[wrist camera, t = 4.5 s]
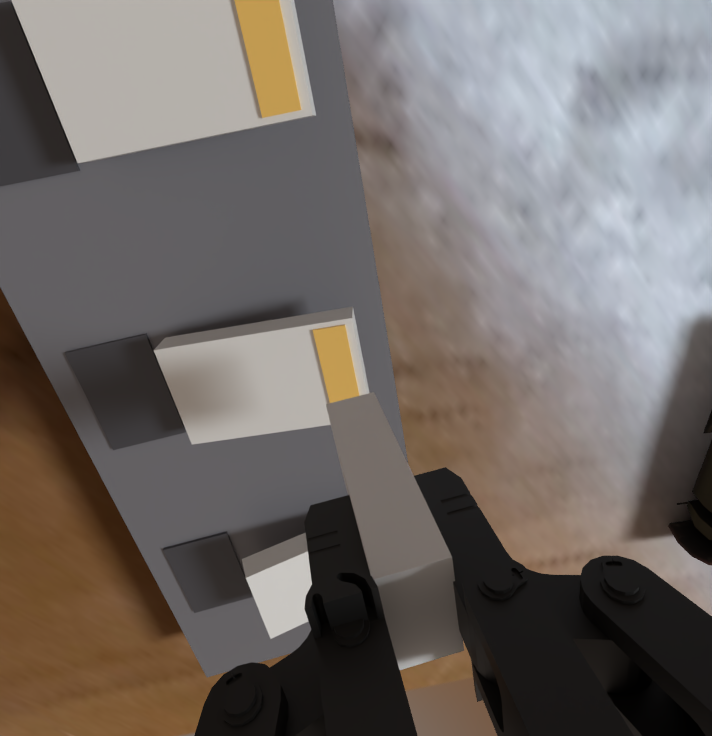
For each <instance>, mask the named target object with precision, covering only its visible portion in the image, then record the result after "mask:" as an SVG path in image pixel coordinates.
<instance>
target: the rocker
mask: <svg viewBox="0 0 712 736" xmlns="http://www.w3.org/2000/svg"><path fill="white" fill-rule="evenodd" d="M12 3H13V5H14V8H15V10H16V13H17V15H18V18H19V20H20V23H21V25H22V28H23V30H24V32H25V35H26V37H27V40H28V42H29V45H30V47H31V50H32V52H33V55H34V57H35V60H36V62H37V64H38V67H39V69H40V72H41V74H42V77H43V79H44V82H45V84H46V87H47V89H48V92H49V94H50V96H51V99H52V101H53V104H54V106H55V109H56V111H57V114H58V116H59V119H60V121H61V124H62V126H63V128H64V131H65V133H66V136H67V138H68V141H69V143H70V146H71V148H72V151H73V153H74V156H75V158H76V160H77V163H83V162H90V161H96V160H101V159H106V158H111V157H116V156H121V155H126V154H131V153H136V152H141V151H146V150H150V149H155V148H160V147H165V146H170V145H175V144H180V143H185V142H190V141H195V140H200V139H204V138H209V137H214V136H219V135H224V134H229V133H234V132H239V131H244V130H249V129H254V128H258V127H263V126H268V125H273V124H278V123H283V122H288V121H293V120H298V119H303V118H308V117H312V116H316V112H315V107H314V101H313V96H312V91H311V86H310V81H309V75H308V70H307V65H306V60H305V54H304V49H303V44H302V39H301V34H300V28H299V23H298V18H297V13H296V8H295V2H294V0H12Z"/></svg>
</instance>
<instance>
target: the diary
mask: <svg viewBox="0 0 712 736" xmlns="http://www.w3.org/2000/svg"><path fill="white" fill-rule="evenodd" d="M704 433H712V411H711V414H710V416H709V419H708V422H707V425H706V427H705V430H704ZM692 492H693V494H694V495H695V496H696V497H697V499H698V500H692V501H688V502H684V503H677V505H680V504H687V508H688V510H689V513H690V515H691V518H692V520H690V521H682V522H675V523H670V524H669V525H668V527H669V528H670V530H671V532H672V534H673V535H674V537H675V539H676V540H677V542H678V543H679V544H680V545H681V546H682V547H683V548H684V549H685V550H686V551H687V552H688V553H689V554H690V555H691V556H692V557H694V558H696V559H698V560H700V561H702V562H704V563H706V564H708V565H712V441H711V443H710V446H709V449H708V451H707V454H706V457H705V459H704V462H703V464H702V467H701V470H700V472H699V475H698V478H697V480H696V483H695V485H694V488H693V491H692Z"/></svg>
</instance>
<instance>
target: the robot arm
mask: <svg viewBox="0 0 712 736" xmlns="http://www.w3.org/2000/svg"><path fill="white" fill-rule="evenodd" d="M326 407H327V411H328V415H329V420H330V424H331V428H332V432H333V436H334V440H335V444H336V449H337V453H338V457H339V461H340V465H341V469H342V473H343V477H344V481H345V485H346V489H347V493H348V495H347V496H343V497H339V498H336V499H332V500H328V501H325V502H321V503H317V504H314V505H310V508H309V511H308V513H307V516H306V519H305V521H304V525H305V533H306V540H307V549H308V555H309V556H308V557H309V565H310V573H311V581H312V585H311V587H310V589H309V591H308V593H307V595H306V599H305V608H304V609H305V612H306V615H307V618H308V621H309V624H310V627H311V631H310V633H309V635H308V637H307V638H306V639H305V641H304V642H303V643H302V644H301V645H300V647H299V648H297V649H296V650H295V651H294V652H292V653H291V654H290V655H288V656H287V657H285V658H284V659H282V660H281V661H279V662H278V663H276V664H275V665H273V666H272V667H270V668H269V667H268V666H267V665H265V664H260V663H254V662H250V663H247V664H243V665H239V666H236V667H235V668H233V669H232V670H230V671H229V672H227V673H225V674H224V675H223V676H222V677H221V678H220V679H219V680H218V682H217V683H216V684H215V685H214V686H213V687H212V689H211V691H210V693H209V695H208V697H207V699H206V701H205V703H204V706H203V710H202V713H201V716H200V719H199V723H198V726H197V729H196V732H195V736H417V732H416V729H415V725H414V722H413V718H412V714H411V710H410V707H409V703H408V700H407V696H406V692H405V689H404V685H403V681H402V678H401V674H400V670H402V669H405V668H409V667H412V666H415V665H418V664H422V663H425V662H428V661H431V660H435V659H438V658H441V657H444V656H448V655H451V654H454V653H458V652H461V651H464V647H463V640H464V643H465V645H466V648H467V650H468V652H469V655H470V657H471V661H472V670H473V678H474V686H475V692H476V697H477V702H478V701H481V700H483V701H484V703H485V706H486V708H487V711H488V713H489V716H490V718H491V720H492V723H493V725H494V728H495V730H496V733H497V735H498V736H712V616H710V615H709V614H708V613H706V612H705V611H704V610H702V609H701V608H700V607H698V606H697V605H696V604H694V603H693V602H692V601H690V600H689V599H688V598H687V597H685V596H684V595H683V594H681V593H680V592H679V591H677V590H676V589H675V588H673V587H672V586H671V585H669V584H668V583H667V582H665V581H664V580H663V579H661V578H660V577H659V576H657V575H656V574H655V573H654V572H652V571H651V570H650V569H648V568H646V567H645V566H643V565H641V564H639V563H638V562H636V561H634V560H631V559H627V558H624V557H620V556H601V557H598V558H595V559H592V560H590V561H589V562H588V563H587V564H586V565H585V566H584V567H583V569H582V573H581V575H549V574H541V573H537V572H534V571H531V570H528V569H526V568H525V567H524V566H523V565H522V564H520V563H518V562H516V561H514V560H513V559H512V558H511V557H510V556H509V554H508V553H507V552H506V550H505V549H504V547H503V546H502V544H501V542H500V541H499V539H498V537H497V536H496V534H495V533H494V531H493V529H492V528H491V526H490V524H489V523H488V521H487V519H486V518H485V516H484V515H483V513H482V511H481V510H480V508H479V507H478V506H477V503H476V502H475V500H474V498H473V497H472V495H470V492H469V490H468V489H467V487H466V485H465V484H464V482H463V480H462V479H461V478H460V477H459V476H457V475H456V474H454V473H453V472H452V471H450V470H449V469H447V468H446V467H445V468H442V469H438V470H434V471H431V472H427V473H423V474H419V475H416V476H413V473H412V471H411V469H410V467H409V465H408V463H407V461H406V459H405V457H404V455H403V452H402V450H401V448H400V446H399V444H398V442H397V440H396V438H395V436H394V433H393V431H392V429H391V427H390V425H389V423H388V421H387V419H386V417H385V414H384V412H383V410H382V408H381V406H380V404H379V402H378V400H377V398H376V395H375V393H374V392H372V393H369V394H365V395H361V396H357V397H353V398H349V399H345V400H341V401H337V402H333V403H329V404H326ZM462 638H463V639H462ZM482 698H483V699H482Z"/></svg>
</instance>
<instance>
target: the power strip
mask: <svg viewBox="0 0 712 736" xmlns="http://www.w3.org/2000/svg"><path fill="white" fill-rule="evenodd" d="M294 2H295V8H296V13H297V18H298V23H299V28H300V34H301V39H302V44H303V49H304V54H305V60H306V65H307V70H308V75H309V81H310V86H311V91H312V96H313V101H314V107H315V112H316V116H312V117H308V118H303V119H298V120H293V121H288V122H283V123H278V124H273V125H268V126H263V127H258V128H254V129H249V130H244V131H239V132H234V133H229V134H224V135H219V136H214V137H209V138H204V139H200V140H195V141H190V142H185V143H180V144H175V145H170V146H165V147H160V148H155V149H150V150H146V151H141V152H136V153H131V154H126V155H121V156H116V157H111V158H106V159H101V160H96V161H90V162H83V163H77V160H76V158H75V156H74V153H73V151H72V148H71V146H70V143H69V141H68V138H67V136H66V133H65V131H64V128H63V126H62V124H61V121H60V119H59V116H58V114H57V111H56V109H55V106H54V104H53V101H52V99H51V96H50V94H49V92H48V89H47V87H46V84H45V82H44V79H43V77H42V74H41V72H40V69H39V67H38V64H37V62H36V60H35V57H34V55H33V52H32V50H31V47H30V45H29V42H28V40H27V37H26V35H25V32H24V30H23V28H22V25H21V23H20V20H19V18H18V15H17V13H16V10H15V8H14V5H13V3H12V0H0V288H1V290H2V291H3V293H4V295H5V297H6V299H7V301H8V303H9V305H10V307H11V308H12V310H13V312H14V314H15V316H16V318H17V320H18V322H19V323H20V325H21V327H22V329H23V331H24V333H25V335H26V337H27V339H28V340H29V342H30V344H31V346H32V348H33V350H34V352H35V354H36V356H37V357H38V359H39V361H40V363H41V365H42V367H43V369H44V371H45V373H46V374H47V376H48V378H49V380H50V382H51V384H52V386H53V388H54V390H55V391H56V393H57V395H58V397H59V399H60V401H61V403H62V405H63V407H64V408H65V410H66V412H67V414H68V416H69V418H70V420H71V422H72V424H73V425H74V427H75V429H76V431H77V433H78V435H79V437H80V439H81V441H82V442H83V444H84V446H85V448H86V450H87V452H88V454H89V456H90V458H91V459H92V461H93V463H94V465H95V467H96V469H97V471H98V473H99V474H100V476H101V478H102V480H103V482H104V484H105V486H106V488H107V490H108V491H109V493H110V495H111V497H112V499H113V501H114V503H115V505H116V507H117V508H118V510H119V512H120V514H121V516H122V518H123V520H124V522H125V524H126V525H127V527H128V529H129V531H130V533H131V535H132V537H133V539H134V541H135V542H136V544H137V546H138V548H139V550H140V552H141V554H142V556H143V558H144V559H145V561H146V563H147V565H148V567H149V569H150V571H151V573H152V575H153V576H154V578H155V580H156V582H157V584H158V586H159V588H160V590H161V592H162V593H163V595H164V597H165V599H166V601H167V603H168V605H169V607H170V609H171V610H172V612H173V614H174V616H175V618H176V620H177V622H178V624H179V625H180V627H181V629H182V631H183V633H184V635H185V637H186V639H187V641H188V642H189V644H190V646H191V648H192V650H193V652H194V654H195V656H196V658H197V659H198V661H199V663H200V665H201V667H202V669H203V671H204V673H205V675H206V676H207V677H210V676H213V675H217V674H220V673H224V672H227V671H230V670H232V669H233V668H235V667H236V666H239V665H243V664H247V663H250V662H254V663H258V662H262V661H265V660H269V659H272V658H276V657H279V656H283V655H286V654H290V653H292V652H294V651H295V650H296V649H297V648H299V647H300V645H301V644H302V643H303V642H304V641H305V639H306V638H307V637H308V635H309V633H310V631H311V627H310V624H309V621H308V622H306V623H304V624H302V625H300V626H297V627H295V628H293V629H291V630H289V631H287V632H285V633H282V634H280V635H278V636H276V637H274V638H272V639H270V636H269V634H268V631H267V629H266V627H265V624H264V622H263V619H262V617H261V614H260V612H259V609H258V607H257V604H256V602H255V599H254V597H253V595H252V592H251V590H250V587H249V585H248V582H247V580H246V577H245V572H244V568H243V563H242V559H243V558H246V557H248V556H251V555H253V554H255V553H258V552H260V551H262V550H265V549H267V548H270V547H272V546H274V545H277V544H279V543H282V542H284V541H286V540H289V539H291V538H294V537H296V536H298V535H301V534H303V533H305V525H304V521H305V519H306V516H307V513H308V511H309V508H310V505H314V504H317V503H321V502H325V501H328V500H332V499H336V498H339V497H343V496H347V495H348V493H347V489H346V485H345V481H344V477H343V473H342V469H341V465H340V461H339V457H338V453H337V449H336V444H335V440H334V436H333V432H332V428H331V425H326V426H319V427H312V428H305V429H298V430H291V431H284V432H277V433H270V434H263V435H256V436H249V437H242V438H235V439H228V440H221V441H214V442H207V443H200V444H193V445H192V444H191V441H190V439H189V436H188V434H187V431H186V429H185V426H184V424H183V421H182V419H181V417H180V414H179V412H178V409H177V407H176V404H175V402H174V399H173V397H172V394H171V392H170V389H169V387H168V385H167V382H166V380H165V377H164V375H163V372H162V370H161V367H160V365H159V362H158V360H157V357H156V355H155V353H154V349H155V348H156V347H157V346H158V345H159V344H160V343H161V342H162V341H163V339H164V338H166V337H172V336H178V335H184V334H190V333H196V332H202V331H208V330H214V329H220V328H226V327H232V326H238V325H244V324H250V323H256V322H262V321H268V320H274V319H281V318H287V317H293V316H299V315H305V314H311V313H317V312H323V311H329V310H335V309H341V308H347V307H353V310H354V315H355V320H356V325H357V331H358V336H359V341H360V346H361V352H362V357H363V362H364V367H365V372H366V378H367V383H368V388H369V393H372V392H374V393H375V395H376V398H377V400H378V402H379V404H380V406H381V408H382V410H383V412H384V414H385V417H386V419H387V421H388V423H389V425H390V427H391V429H392V431H393V433H394V436H395V438H396V440H397V442H398V444H399V446H400V448H401V450H402V452H403V455H404V457H405V459H406V461H407V463H408V460H407V454H406V448H405V442H404V436H403V430H402V424H401V417H400V411H399V405H398V399H397V393H396V387H395V380H394V374H393V368H392V362H391V356H390V350H389V344H388V337H387V331H386V325H385V319H384V313H383V307H382V301H381V294H380V288H379V282H378V276H377V270H376V264H375V258H374V251H373V245H372V239H371V233H370V227H369V221H368V214H367V208H366V202H365V196H364V190H363V184H362V178H361V171H360V165H359V159H358V153H357V147H356V141H355V135H354V128H353V122H352V116H351V110H350V104H349V98H348V91H347V85H346V79H345V73H344V67H343V61H342V55H341V48H340V42H339V36H338V30H337V24H336V18H335V12H334V5H333V0H294Z"/></svg>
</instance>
